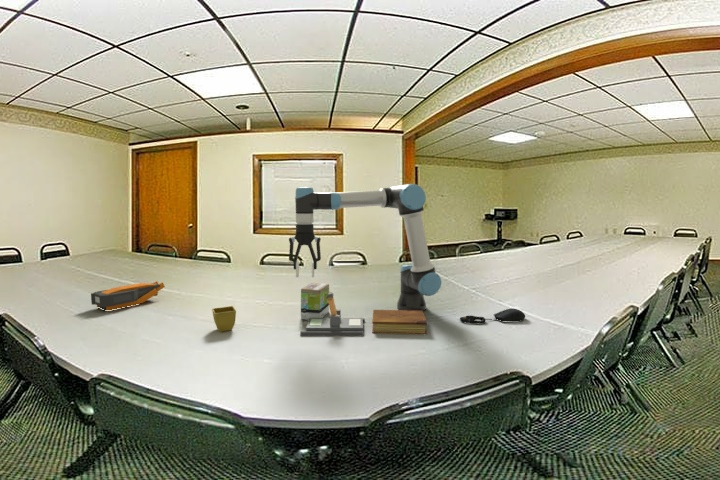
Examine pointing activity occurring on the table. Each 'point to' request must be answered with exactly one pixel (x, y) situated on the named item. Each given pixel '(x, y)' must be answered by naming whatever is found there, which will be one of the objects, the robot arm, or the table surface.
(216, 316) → the flower pot
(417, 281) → the robot arm
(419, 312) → the diary
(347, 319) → the breaker panel
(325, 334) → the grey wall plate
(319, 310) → the tea box
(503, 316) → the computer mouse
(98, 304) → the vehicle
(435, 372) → the table surface
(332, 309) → the lever
